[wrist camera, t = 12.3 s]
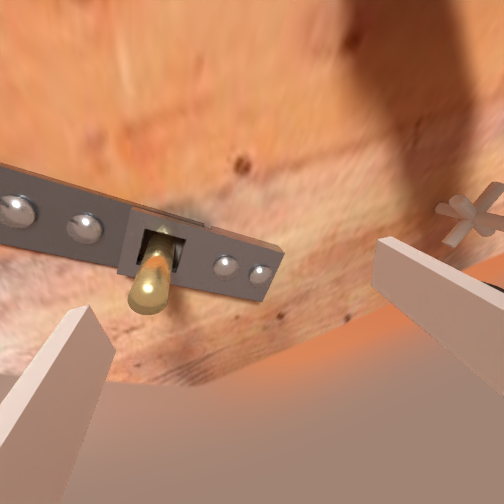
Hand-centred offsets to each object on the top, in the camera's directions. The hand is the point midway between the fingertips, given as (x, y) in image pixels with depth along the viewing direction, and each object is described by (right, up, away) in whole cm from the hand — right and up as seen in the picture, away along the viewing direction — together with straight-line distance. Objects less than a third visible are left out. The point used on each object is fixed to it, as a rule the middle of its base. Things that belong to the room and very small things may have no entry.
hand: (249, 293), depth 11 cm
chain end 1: (-17, +5, +16) cm, 24 cm away
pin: (-11, +3, +19) cm, 22 cm away
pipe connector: (+31, +9, +27) cm, 42 cm away
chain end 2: (-6, +2, +21) cm, 22 cm away
